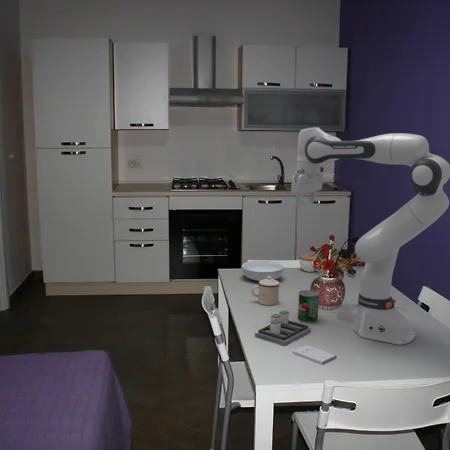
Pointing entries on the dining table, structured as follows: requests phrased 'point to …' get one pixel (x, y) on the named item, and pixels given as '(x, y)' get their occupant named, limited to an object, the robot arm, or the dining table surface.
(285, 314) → the breaker near
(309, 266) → the lidded jar
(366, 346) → the dining table surface
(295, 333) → the panel
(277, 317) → the block
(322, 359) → the external hard drive
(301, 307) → the canned tomato
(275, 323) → the block
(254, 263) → the serving bowl
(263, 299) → the teacup with lid
